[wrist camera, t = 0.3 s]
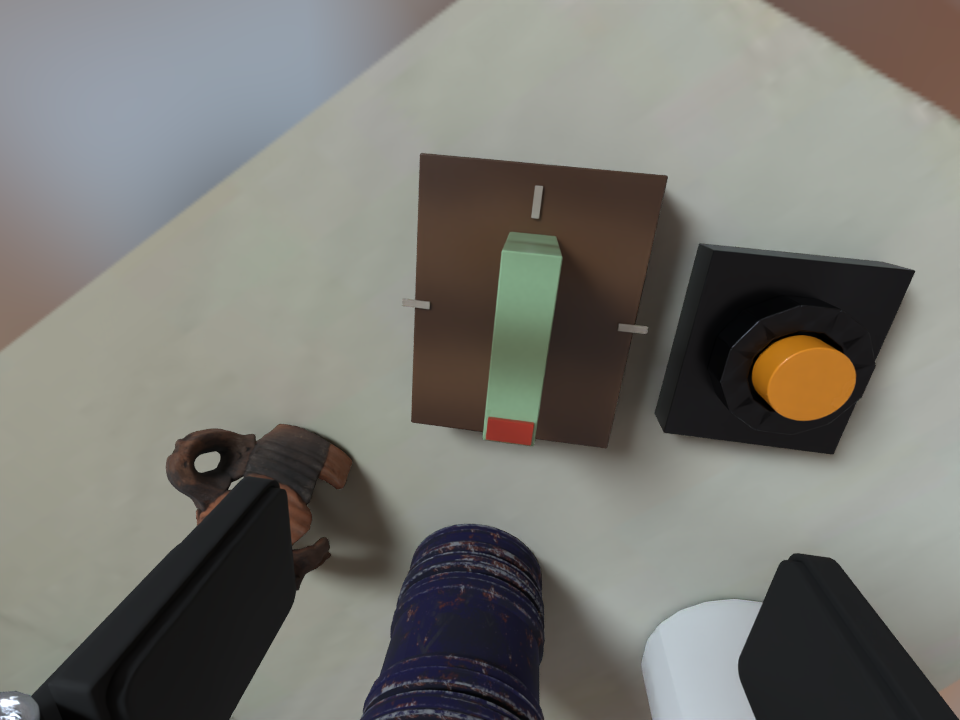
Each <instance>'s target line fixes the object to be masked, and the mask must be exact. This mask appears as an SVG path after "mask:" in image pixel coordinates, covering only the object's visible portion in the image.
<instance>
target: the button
mask: <svg viewBox="0 0 960 720" xmlns="http://www.w3.org/2000/svg"><path fill="white" fill-rule="evenodd" d="M752 381H753V385H754V388H755V390H756V391H757V393H758V394H759V395H760V396H761V397H762V398H763V399H764V400H765V401H766V402H767V403H768V404H769V405H770V406H771V407H772V408H773V409H774V410H775V411H776V412H777V413H778V414H780V415H782V416H784V417H786V418H789V419H792V420H797V421H810V420H815V419H820V418H822V417H825V416H827V415H829V414H831V413H833V412H835V411H836V410H838V409H839V408H840V407H841V406H842V405H844V404H845V402H846V401H847V400H848V399H849V397H850V396H851V394H852V392H853V390H854V387H855V383H856V372H855V368H854V366H853V364H852V362H851V361H850V359H849V358H848V357H847V356H846V355H844V354H843V353H841V352H840V351H838V350H836V349H835V348H833V347H831V346H830V345H828V344H826V343H825V342H823V341H821V340H820V339H817V338H815V337H812V336H806V335H797V336H790V337H786V338H783V339H780V340H778V341H776V342H774V343H773V344H771V345H770V346H768V347H767V348H766V349H765V350H764V351H763V352H762V353H761V354H760V355H759V357H758V358H757V360H756V362H755V364H754V367H753V371H752Z"/></svg>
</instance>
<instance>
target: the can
mask: <svg viewBox="0 0 960 720" xmlns="http://www.w3.org/2000/svg"><path fill="white" fill-rule="evenodd" d="M762 603H763V602H757V601H749V600H741V599H727V600H717V601H707V602H703V603H700V604H697V605H694V606H691V607H688V608H685V609H682V610H680V611H678V612H677V613H675V614H674V615H672V616H671V617H669V618H667V619H666V620H664V621H663V622H661V623H660V624H659V625H658V627H657V628H656V629H655V630H654V632H653V633H652V634H651V635H650V637H649V638H648V639H647V643H646V646H645V650H644V654H643V658H642V662H641V668H642V673H643V678H644V682H645V687H646V692H647V696H648V701H649V706H650V711H651V715H652V720H756V719H755V716H754V714H753V712H752V709H751V707H750V704H749V702H748V699H747V697H746V694H745V692H744V689H743V687H742V684H741V681H740V678H739V674H738V660H739V657H740V654H741V652H742V650H743V647H744V645H745V643H746V640H747V638H748V636H749V633H750V631H751V629H752V626H753V624H754V622H755V619H756V617H757V615H758V613H759V610H760V608H761V606H762Z"/></svg>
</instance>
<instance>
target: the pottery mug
mask: <svg viewBox="0 0 960 720" xmlns="http://www.w3.org/2000/svg"><path fill="white" fill-rule="evenodd" d="M255 438H256V437H255V435H254V434H248V435H241V434H237V433H234V432H231V431H227V430H223V429H206V430H201V431H196V432H193V433H190V434H188V435H187V436H186V437H185V438H183V439H179V440H177V441H176V444H175V450H174V451H173V453H172V455H170V456H169V457H168V458H167V462H166V473H167V477H168V480H169V481H170V483H171V484H172V485H173V486H174V487H175V488H176V489H177V490H178V491H180V492H181V493H183V494H185V495H187V496H188V497H190V498H191V499H192V500H193V502H194V504H195V506H196V508H198V509H197V511H196V519H197V526H198V524H199V523H200V522H201V521H202V520H203V519H204V518H205V517H206V516H207V515H208V514H209V513H210V512H211V511H212V510H213V509H214V508H215V507H216V506H217V505H218V504H219V503H220V501H221V500H222V499H223V498H224V497H225V496H226V495H227V494H228V493H229V492H230V491H231V490H228V489H229V487H230V485H231V483H232V482H234V481H236V480H238V479H239V478H241V477H243V476H244V477H247V476H251V477H258V478H265V479H272V480H276V481H278V483H279V485H280V488H281V489H285V490H286V492H287V497H288V508H289V518H290V529H291V540H292V545H293V544H294V543H295V542H296V541H298V540H299V539H300V538H301V537H302V536H303V535H304V534H305V533H306V532H307V531H308V530H309V529H310V525H311V522H312V514H311V512H310V509H309V508H308V506H307V504H308V503H309V502H310V499H311V496H312V493H313V489H314V487H315V484H316V480H317V478H319V479H321V480H324V481H326V482H327V483H329V484H330V485H332V486H333V487H335V488H336V489H342V488H343V487H344V485H345V483H346V481H347V476H348V473H349V471H350V467H351V465H352V460H351V459H350V458H349V457H348V455H347V454H345V453H344V452H343V451H342V450H341V449H339V448H337V447H335V446H334V445H333V444H330V443H329V442H328V441H326V440H325V439H323V438H321V437H319V436H318V435H317V434H315V433H312V432H309V431H307V430H306V429H303V428H300V427H297V426H291V425H286V424H279V425H277V426H276V427H275V428H274V429H273V430H272V431H271V432H269V433H268V434H266V435H264V436H263V437H262V438H261V439H259V440H258V441H256V439H255ZM214 451H217V452H218V453H219V454H220V456H221V459H220V462H219V464H218V466H217V468H215V469H214V470H211V471H207V472H204V473H199V472H197V470H196V469H195V466H194V462H195V459H196V458H197V457H198V456H199V455H201V454H204V453H207V452H214ZM329 548H330V545H329V541H328V539H327V538H326V537H322V538H320V539H319V540H318V541H317V542H316V543H315V544H314V545H310V546H307V547H304V548H301V549H293V550H292V551H293V561H294V572H295V583H296V591H297V590H299V588H300V584H301V582H302V580H303V578H304V576H305V574H307V573H308V572H310V571H312V570H314V569H317V568H318V567H319V566H321V565H322V564H323V563H324V562H325V561H326V560H327V559H328V558H329V557H330V556H331V554H330V553H329V552H328V550H329Z"/></svg>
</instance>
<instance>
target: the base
mask: <svg viewBox="0 0 960 720" xmlns="http://www.w3.org/2000/svg"><path fill="white" fill-rule="evenodd" d="M667 179H668V176H666V175H655V174H644V173H633V172H622V171H611V170H600V169H589V168H578V167H568V166H557V165H546V164H535V163H524V162H513V161H502V160H491V159H480V158H469V157H458V156H448V155H437V154H426V153H421V154H420V170H419V201H418V232H417V262H416V293H415V300H411V299H403V302H402V306H406V307H415V323H414V354H413V384H412V415H411V422H413V423H420V424H428V425H435V426H443V427H450V428H458V429H465V430H473V431H480V432H483V429H484V419H485V409H486V399H487V390H488V380H489V370H490V360H491V350H492V341H493V331H494V321H495V311H496V301H497V291H498V282H499V272H500V262H501V252H502V249H503V247H504V245H505V242H506V240H507V238H508V235H509V233H510V232H519V233H528V234H538V235H548V236H556V237H557V241H558V244H559V247H560V251H561V254H562V257H563V260H562V266H561V273H560V279H559V286H558V292H557V299H556V305H555V312H554V319H553V325H552V332H551V338H550V345H549V351H548V358H547V364H546V371H545V377H544V384H543V391H542V397H541V404H540V410H539V417H538V423H537V430H536V436H535V439H541V440H548V441H556V442H563V443H571V444H578V445H586V446H593V447H601V448H607V446H608V442H609V438H610V433H611V429H612V424H613V420H614V415H615V411H616V406H617V402H618V397H619V393H620V388H621V384H622V380H623V375H624V371H625V366H626V362H627V357H628V353H629V348H630V344H631V339H632V335H633V333H640V334H647V331H648V327H647V326H639V325H635V322H636V317H637V313H638V308H639V304H640V299H641V295H642V290H643V286H644V282H645V277H646V273H647V268H648V264H649V259H650V255H651V250H652V246H653V241H654V237H655V232H656V228H657V224H658V219H659V215H660V210H661V206H662V201H663V197H664V192H665V188H666V183H667Z"/></svg>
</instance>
